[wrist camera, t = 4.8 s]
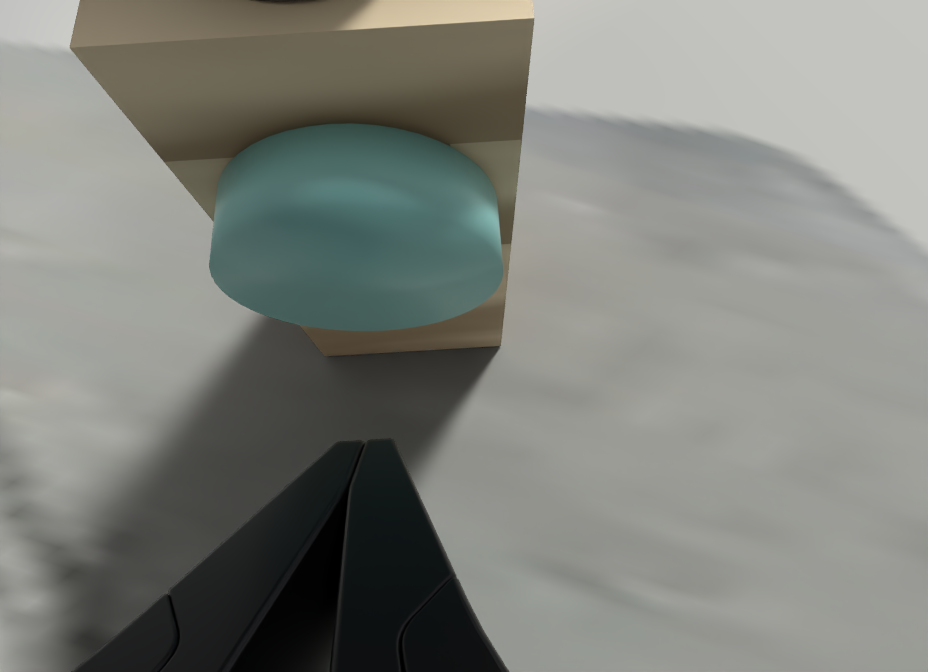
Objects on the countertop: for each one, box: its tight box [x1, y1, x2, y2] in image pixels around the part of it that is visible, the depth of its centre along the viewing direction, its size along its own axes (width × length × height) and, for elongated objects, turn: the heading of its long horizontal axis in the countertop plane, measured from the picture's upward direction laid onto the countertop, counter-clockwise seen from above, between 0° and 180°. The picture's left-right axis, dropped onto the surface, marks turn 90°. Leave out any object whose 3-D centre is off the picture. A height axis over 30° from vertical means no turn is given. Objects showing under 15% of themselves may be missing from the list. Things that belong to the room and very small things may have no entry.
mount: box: [70, 0, 534, 356], centre depth 12 cm, size 4×5×11 cm
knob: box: [209, 123, 503, 331], centre depth 10 cm, size 6×4×4 cm
